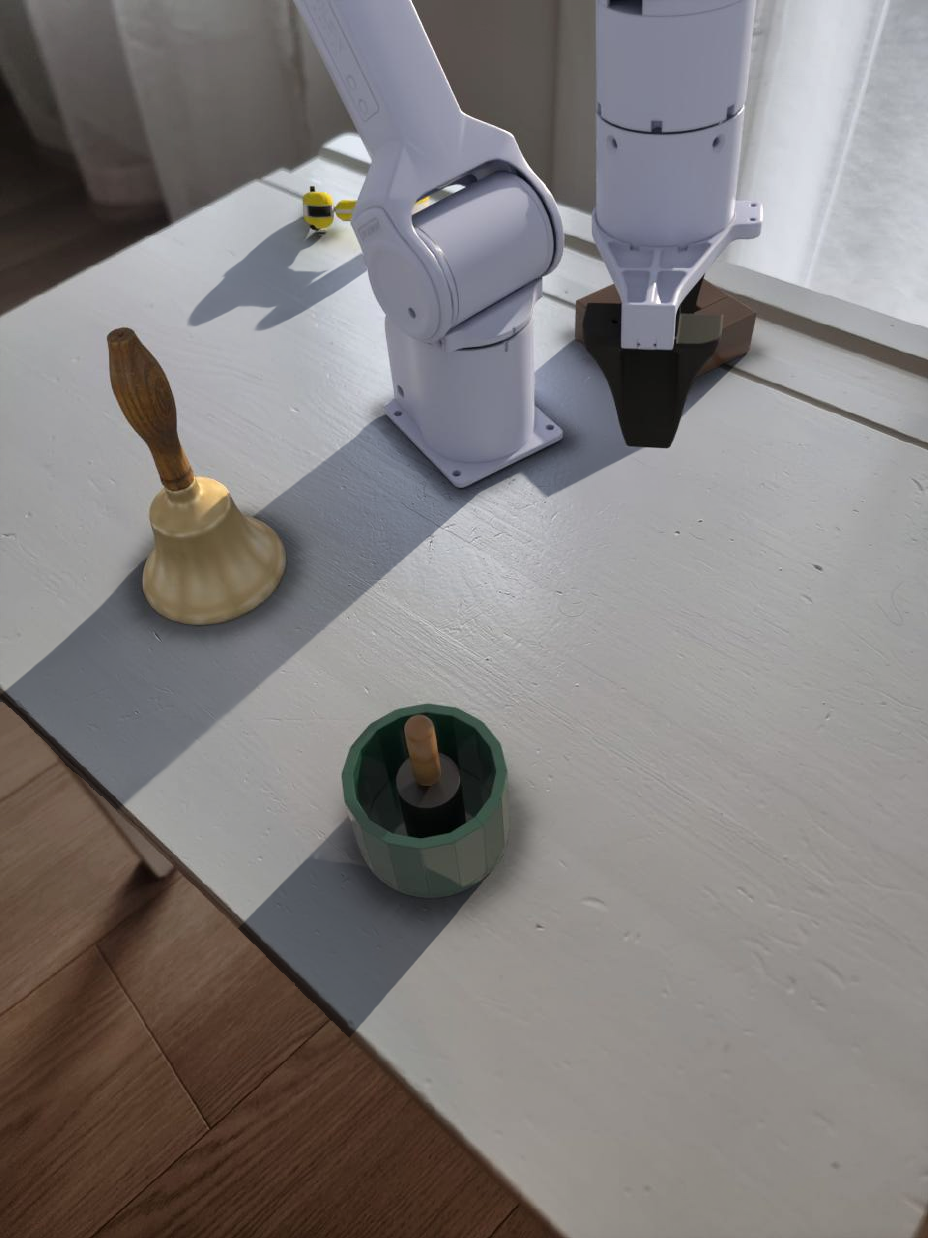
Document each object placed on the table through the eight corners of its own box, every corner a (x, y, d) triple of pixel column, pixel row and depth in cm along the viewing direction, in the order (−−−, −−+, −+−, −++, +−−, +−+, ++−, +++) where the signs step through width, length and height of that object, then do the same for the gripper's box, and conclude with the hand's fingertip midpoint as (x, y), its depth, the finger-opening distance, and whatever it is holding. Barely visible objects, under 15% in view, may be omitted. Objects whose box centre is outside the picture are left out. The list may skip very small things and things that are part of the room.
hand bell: (139, 637, 55) (21, 406, 42) (146, 530, 60) (43, 296, 47) (290, 613, 55) (217, 377, 43) (283, 509, 60) (217, 272, 48)
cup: (332, 809, 47) (313, 755, 43) (456, 737, 49) (449, 678, 45) (408, 928, 43) (394, 880, 39) (539, 844, 45) (538, 790, 42)
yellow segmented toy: (289, 239, 78) (285, 191, 76) (314, 228, 83) (311, 182, 81) (413, 244, 76) (412, 195, 74) (430, 232, 82) (430, 185, 80)
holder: (574, 337, 69) (575, 300, 67) (667, 294, 72) (672, 256, 69) (652, 399, 65) (656, 361, 62) (749, 351, 67) (757, 312, 65)
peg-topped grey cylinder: (394, 815, 46) (369, 714, 40) (445, 785, 47) (429, 681, 40) (425, 861, 45) (405, 764, 38) (477, 829, 46) (466, 728, 39)
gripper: (774, 190, 33) (734, 497, 43) (779, 29, 42) (745, 313, 52) (564, 191, 35) (572, 486, 45) (612, 35, 44) (610, 309, 54)
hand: (655, 393), depth 49 cm, fingers open, 7 cm apart
